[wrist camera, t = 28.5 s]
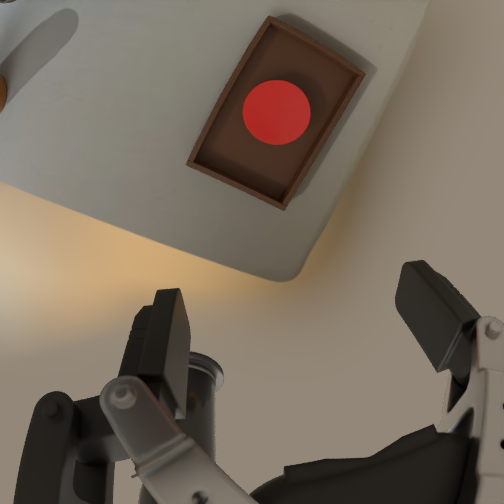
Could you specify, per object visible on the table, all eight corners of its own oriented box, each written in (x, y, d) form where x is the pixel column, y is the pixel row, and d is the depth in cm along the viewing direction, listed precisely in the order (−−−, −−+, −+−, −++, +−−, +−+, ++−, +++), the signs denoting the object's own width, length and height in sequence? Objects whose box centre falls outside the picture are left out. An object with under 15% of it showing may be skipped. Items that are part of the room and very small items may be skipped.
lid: (261, 69, 25) (263, 67, 23) (317, 100, 27) (322, 100, 25) (230, 124, 28) (230, 126, 26) (286, 152, 30) (290, 156, 28)
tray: (280, 204, 33) (284, 211, 31) (188, 160, 30) (185, 165, 28) (357, 74, 26) (366, 73, 24) (265, 20, 23) (268, 15, 21)
